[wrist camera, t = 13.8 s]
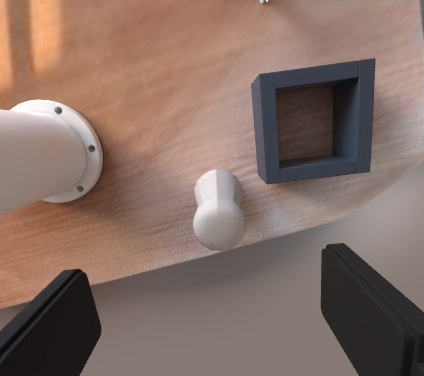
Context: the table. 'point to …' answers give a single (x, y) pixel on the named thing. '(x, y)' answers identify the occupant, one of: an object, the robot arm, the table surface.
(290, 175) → the holder
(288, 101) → the table surface
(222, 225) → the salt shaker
